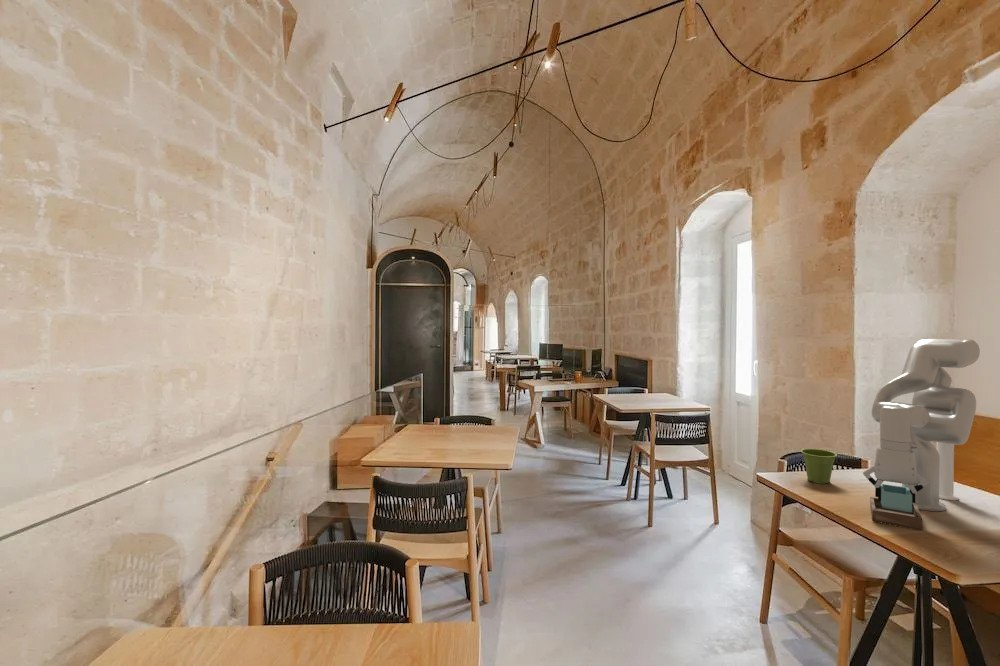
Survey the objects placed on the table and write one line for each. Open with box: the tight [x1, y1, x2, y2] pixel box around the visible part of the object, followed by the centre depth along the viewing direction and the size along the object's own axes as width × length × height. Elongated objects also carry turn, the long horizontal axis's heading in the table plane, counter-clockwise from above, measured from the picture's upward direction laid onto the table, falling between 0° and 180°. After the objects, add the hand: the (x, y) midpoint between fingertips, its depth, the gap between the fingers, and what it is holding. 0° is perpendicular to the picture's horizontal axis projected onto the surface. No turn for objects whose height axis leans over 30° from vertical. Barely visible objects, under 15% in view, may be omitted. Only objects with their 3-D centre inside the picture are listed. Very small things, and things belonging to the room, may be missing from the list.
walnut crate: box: [869, 496, 923, 531], centre depth 151 cm, size 15×12×4 cm
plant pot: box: [800, 448, 838, 485], centre depth 188 cm, size 12×12×11 cm
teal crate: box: [880, 483, 912, 513], centre depth 150 cm, size 10×7×5 cm
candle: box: [936, 442, 959, 501], centre depth 170 cm, size 7×7×25 cm
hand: (894, 501), depth 151 cm, fingers closed on teal crate, 7 cm apart
